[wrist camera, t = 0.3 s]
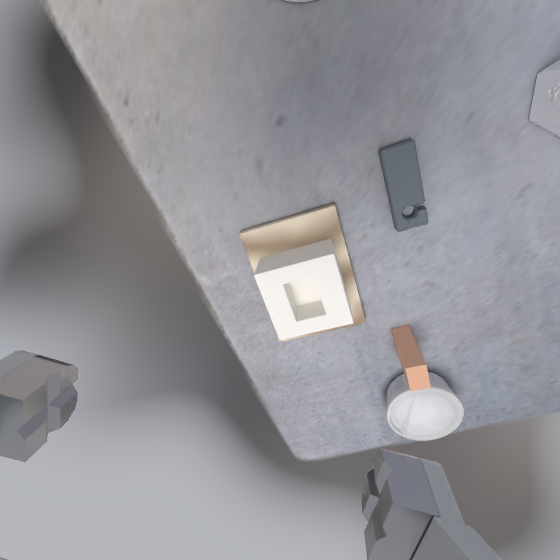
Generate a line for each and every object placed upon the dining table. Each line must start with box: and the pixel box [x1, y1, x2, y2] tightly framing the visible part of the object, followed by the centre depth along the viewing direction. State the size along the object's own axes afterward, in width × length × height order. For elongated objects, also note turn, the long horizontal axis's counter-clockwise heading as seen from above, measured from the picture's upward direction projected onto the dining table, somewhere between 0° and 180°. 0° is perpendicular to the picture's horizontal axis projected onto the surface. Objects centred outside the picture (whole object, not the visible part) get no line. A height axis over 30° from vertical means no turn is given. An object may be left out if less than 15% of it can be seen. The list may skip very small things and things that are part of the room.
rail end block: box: [391, 325, 431, 392], centre depth 49 cm, size 4×3×9 cm, turn 18°
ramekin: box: [386, 372, 464, 440], centre depth 55 cm, size 11×11×5 cm
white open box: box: [254, 238, 354, 340], centre depth 46 cm, size 10×10×6 cm
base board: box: [239, 203, 366, 341], centre depth 49 cm, size 18×13×2 cm
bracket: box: [379, 139, 428, 232], centre depth 43 cm, size 4×10×2 cm, turn 19°
